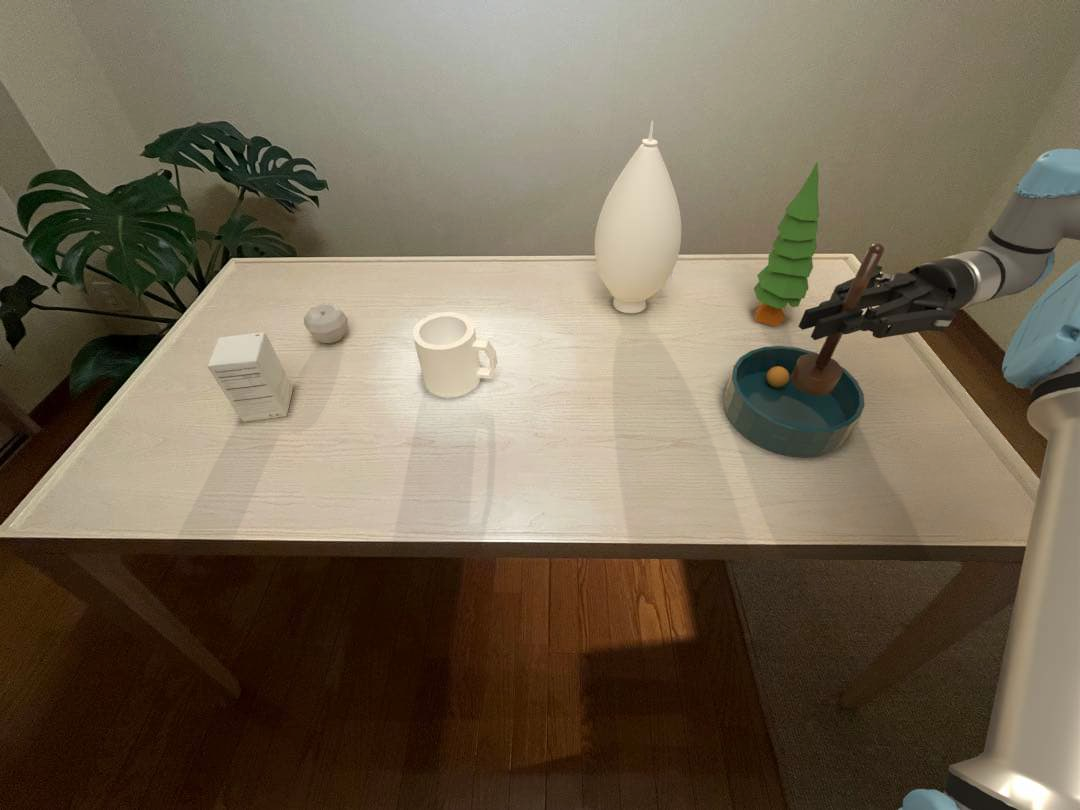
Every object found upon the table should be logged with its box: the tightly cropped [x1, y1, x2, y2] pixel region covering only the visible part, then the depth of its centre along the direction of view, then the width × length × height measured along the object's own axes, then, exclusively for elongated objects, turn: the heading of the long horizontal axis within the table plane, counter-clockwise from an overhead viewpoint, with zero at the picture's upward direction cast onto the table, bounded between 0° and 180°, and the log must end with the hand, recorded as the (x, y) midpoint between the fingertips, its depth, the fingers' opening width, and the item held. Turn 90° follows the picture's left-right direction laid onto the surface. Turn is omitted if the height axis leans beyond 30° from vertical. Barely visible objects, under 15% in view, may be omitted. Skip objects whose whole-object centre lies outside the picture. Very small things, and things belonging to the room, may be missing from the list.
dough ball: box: [766, 366, 789, 388], centre depth 88 cm, size 4×4×4 cm
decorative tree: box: [753, 161, 820, 327], centre depth 93 cm, size 10×9×30 cm
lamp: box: [594, 120, 682, 314], centre depth 96 cm, size 16×16×35 cm
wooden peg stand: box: [791, 243, 885, 396], centre depth 68 cm, size 6×6×22 cm
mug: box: [412, 311, 498, 399], centre depth 89 cm, size 14×10×11 cm
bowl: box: [723, 345, 866, 459], centre depth 84 cm, size 19×20×6 cm
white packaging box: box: [206, 331, 294, 423], centre depth 85 cm, size 7×7×13 cm
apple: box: [303, 303, 349, 344], centre depth 100 cm, size 8×8×7 cm
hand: (810, 324), depth 66 cm, fingers closed on wooden peg stand, 2 cm apart
